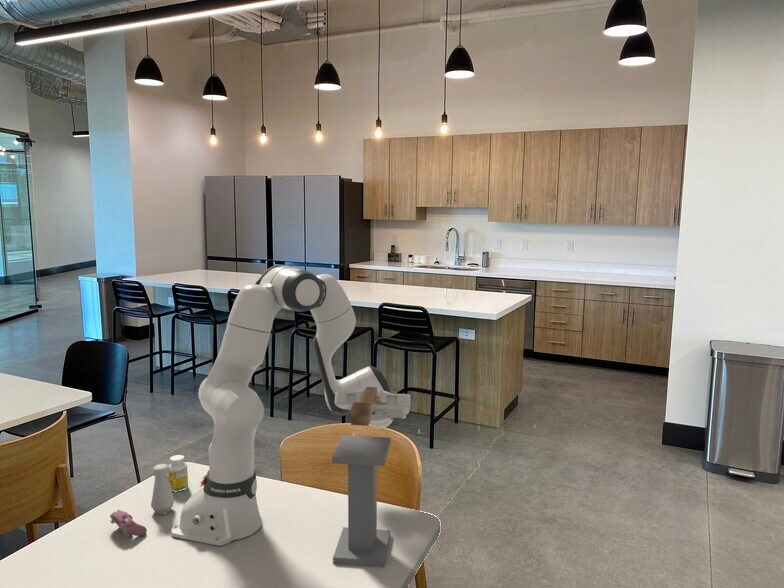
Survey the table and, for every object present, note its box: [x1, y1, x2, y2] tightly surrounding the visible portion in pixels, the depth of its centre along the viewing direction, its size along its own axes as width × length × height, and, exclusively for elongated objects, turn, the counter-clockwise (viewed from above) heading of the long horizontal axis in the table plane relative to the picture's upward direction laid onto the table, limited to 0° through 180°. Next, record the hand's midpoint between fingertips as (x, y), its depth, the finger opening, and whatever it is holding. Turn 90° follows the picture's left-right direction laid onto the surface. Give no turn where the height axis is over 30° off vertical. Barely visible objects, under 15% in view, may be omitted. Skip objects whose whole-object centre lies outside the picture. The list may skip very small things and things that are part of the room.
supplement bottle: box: [168, 454, 189, 491], centre depth 167 cm, size 5×5×10 cm
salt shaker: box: [150, 463, 175, 515], centre depth 154 cm, size 6×6×13 cm
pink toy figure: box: [109, 509, 148, 537], centre depth 144 cm, size 10×5×7 cm, turn 48°
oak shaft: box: [350, 387, 378, 427], centre depth 138 cm, size 4×20×4 cm, turn 174°
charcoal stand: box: [331, 435, 392, 568], centre depth 136 cm, size 12×13×26 cm
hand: (369, 395), depth 145 cm, fingers closed on oak shaft, 3 cm apart
